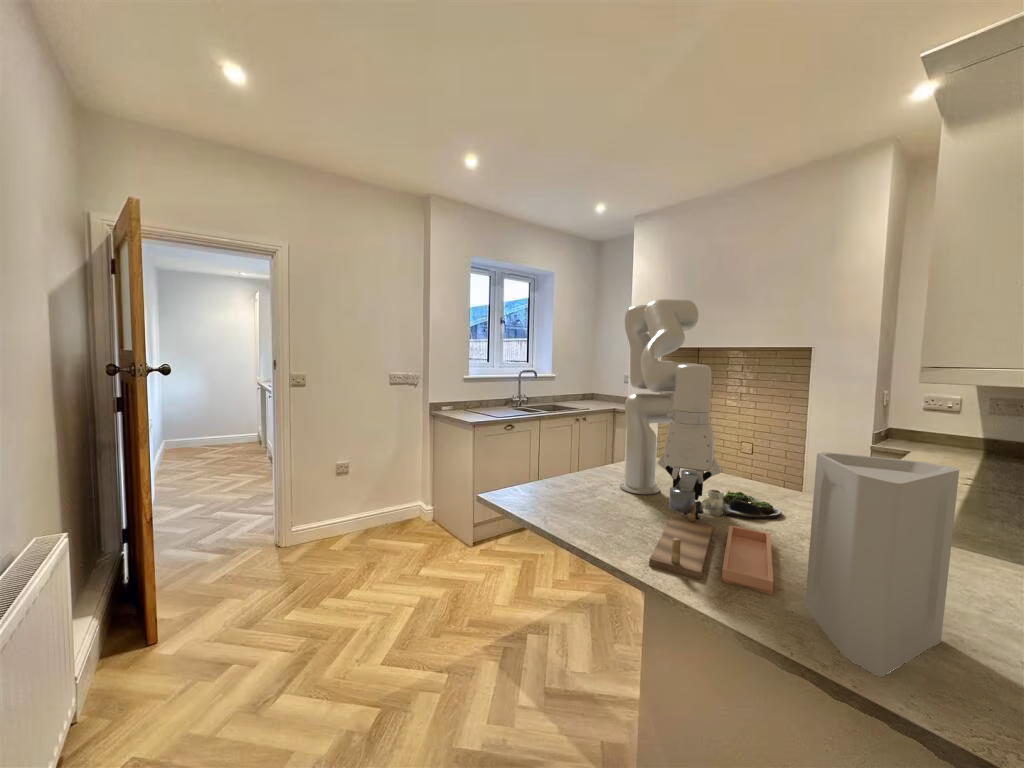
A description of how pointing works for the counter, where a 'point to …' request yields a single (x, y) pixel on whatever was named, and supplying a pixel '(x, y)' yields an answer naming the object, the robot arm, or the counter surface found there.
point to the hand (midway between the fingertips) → (687, 495)
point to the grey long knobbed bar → (684, 493)
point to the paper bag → (880, 556)
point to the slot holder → (748, 560)
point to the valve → (710, 504)
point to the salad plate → (748, 507)
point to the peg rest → (683, 546)
